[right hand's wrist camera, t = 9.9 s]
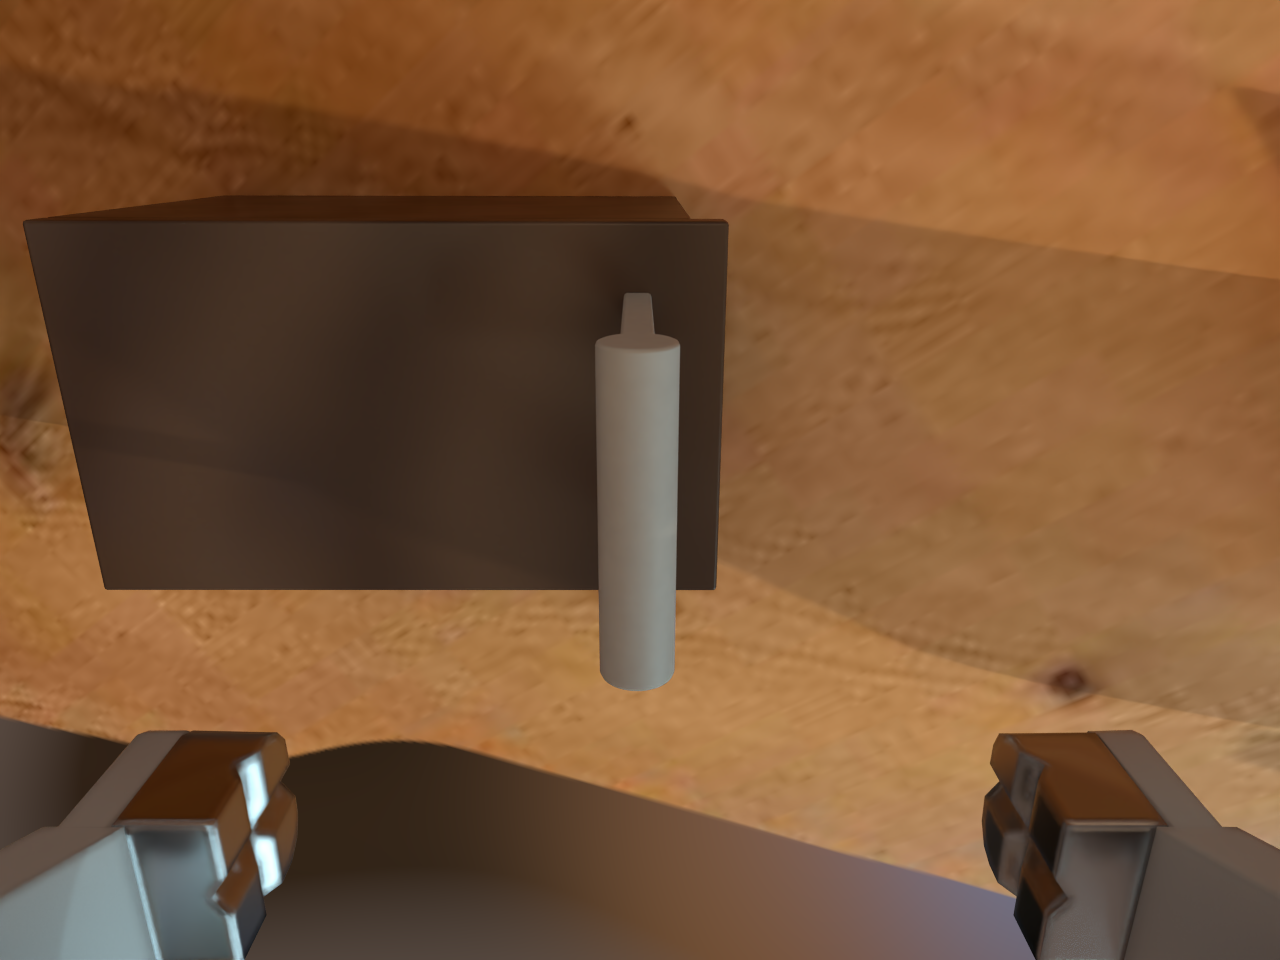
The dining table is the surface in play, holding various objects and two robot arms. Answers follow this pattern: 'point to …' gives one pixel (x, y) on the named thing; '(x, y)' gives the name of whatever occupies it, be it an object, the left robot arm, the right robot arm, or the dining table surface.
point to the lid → (399, 406)
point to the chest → (407, 207)
